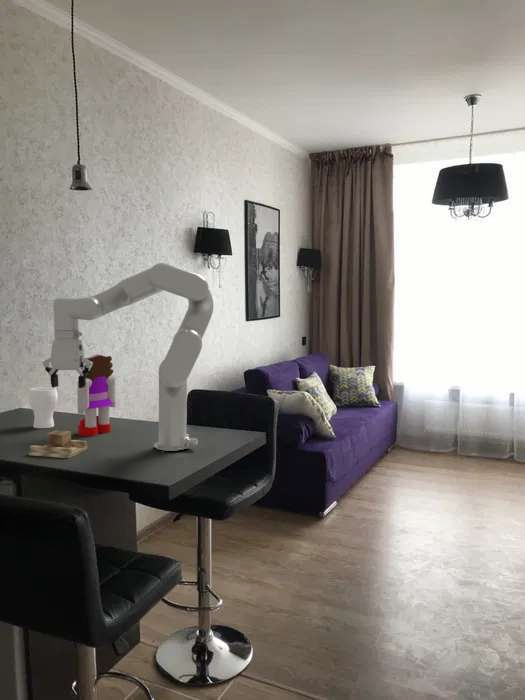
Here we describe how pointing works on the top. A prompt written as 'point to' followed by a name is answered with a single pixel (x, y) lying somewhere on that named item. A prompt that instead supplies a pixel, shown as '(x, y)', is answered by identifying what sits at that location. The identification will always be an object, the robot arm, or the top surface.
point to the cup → (43, 406)
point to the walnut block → (59, 439)
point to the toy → (96, 397)
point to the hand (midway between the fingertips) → (68, 387)
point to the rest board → (59, 450)
